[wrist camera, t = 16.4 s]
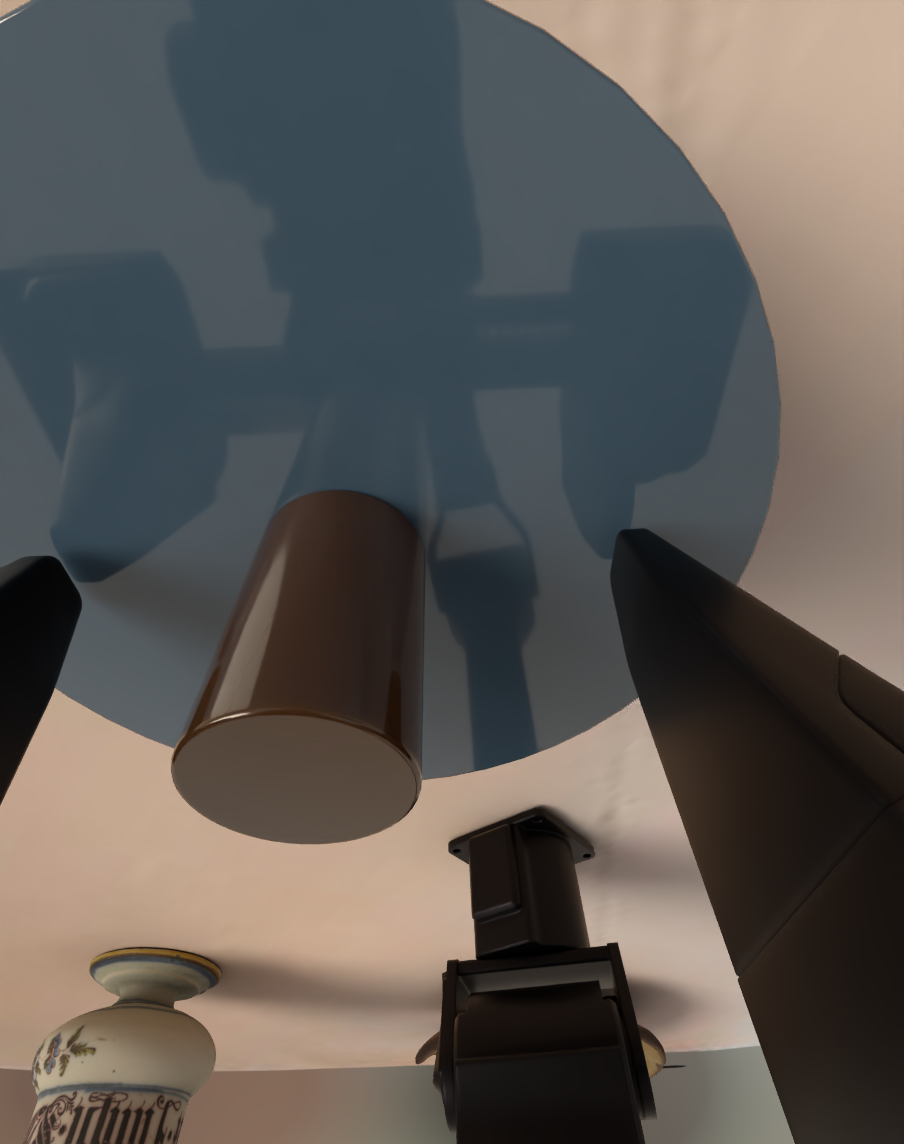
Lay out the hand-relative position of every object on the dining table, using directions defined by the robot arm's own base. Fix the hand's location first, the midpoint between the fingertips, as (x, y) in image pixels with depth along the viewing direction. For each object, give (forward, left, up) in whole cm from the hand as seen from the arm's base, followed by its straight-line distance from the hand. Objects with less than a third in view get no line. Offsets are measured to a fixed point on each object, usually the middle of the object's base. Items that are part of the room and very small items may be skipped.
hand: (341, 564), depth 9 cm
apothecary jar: (-25, +46, -9) cm, 53 cm away
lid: (0, 0, -1) cm, 1 cm away
